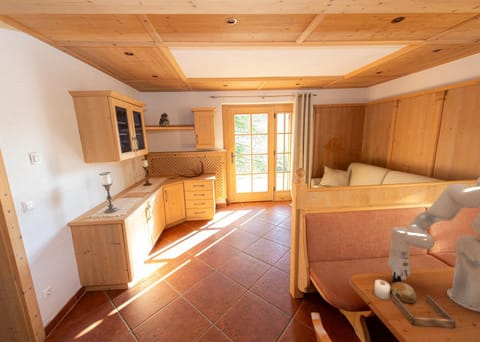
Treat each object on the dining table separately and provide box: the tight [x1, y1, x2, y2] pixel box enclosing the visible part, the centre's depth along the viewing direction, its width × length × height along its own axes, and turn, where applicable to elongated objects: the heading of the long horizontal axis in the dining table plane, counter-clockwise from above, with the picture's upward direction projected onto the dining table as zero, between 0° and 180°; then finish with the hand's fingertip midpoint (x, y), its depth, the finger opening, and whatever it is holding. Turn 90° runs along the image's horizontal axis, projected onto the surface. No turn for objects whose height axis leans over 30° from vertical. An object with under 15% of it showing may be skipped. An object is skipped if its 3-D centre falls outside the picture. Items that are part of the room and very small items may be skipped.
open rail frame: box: [390, 293, 457, 329], centre depth 86 cm, size 16×14×3 cm
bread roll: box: [390, 281, 417, 304], centre depth 95 cm, size 10×10×8 cm
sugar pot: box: [374, 279, 391, 301], centre depth 96 cm, size 6×6×8 cm
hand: (396, 283), depth 102 cm, fingers closed
